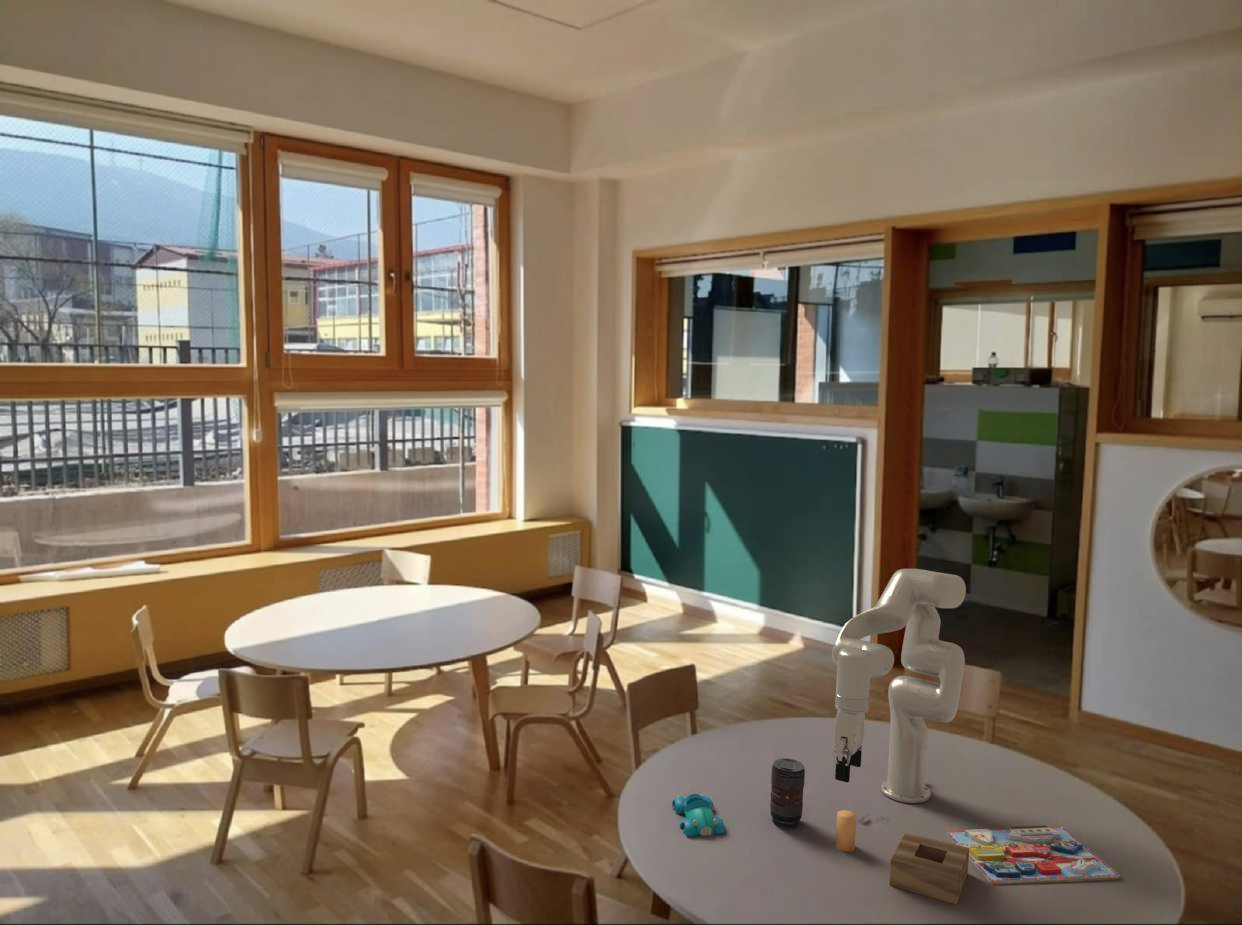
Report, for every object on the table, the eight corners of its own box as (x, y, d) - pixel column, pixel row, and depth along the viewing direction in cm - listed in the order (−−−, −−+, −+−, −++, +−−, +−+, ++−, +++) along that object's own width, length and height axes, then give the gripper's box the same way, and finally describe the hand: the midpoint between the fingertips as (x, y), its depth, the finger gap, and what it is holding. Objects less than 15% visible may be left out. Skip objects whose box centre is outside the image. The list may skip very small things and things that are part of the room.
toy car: (684, 839, 222) (685, 812, 221) (668, 803, 239) (669, 778, 239) (728, 836, 223) (729, 810, 223) (709, 801, 241) (709, 776, 240)
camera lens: (802, 831, 225) (805, 772, 224) (768, 828, 227) (771, 769, 225) (802, 816, 233) (805, 759, 232) (770, 812, 235) (772, 755, 233)
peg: (838, 840, 222) (840, 808, 221) (857, 845, 220) (858, 813, 219) (833, 848, 218) (834, 815, 217) (851, 853, 216) (853, 820, 215)
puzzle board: (1062, 830, 230) (1063, 820, 229) (1120, 882, 207) (1121, 871, 207) (944, 834, 227) (944, 824, 226) (990, 887, 204) (991, 876, 204)
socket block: (904, 856, 215) (905, 831, 214) (967, 873, 208) (969, 848, 208) (889, 885, 203) (891, 859, 202) (956, 904, 196) (958, 877, 195)
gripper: (846, 688, 224) (842, 756, 226) (824, 710, 209) (821, 782, 211) (877, 694, 221) (873, 763, 222) (858, 716, 206) (853, 790, 207)
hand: (848, 772), depth 217 cm, fingers open, 9 cm apart
